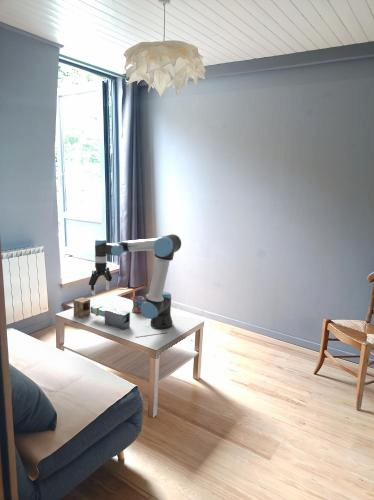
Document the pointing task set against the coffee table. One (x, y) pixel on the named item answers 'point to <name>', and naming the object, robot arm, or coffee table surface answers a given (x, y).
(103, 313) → the teal square bar
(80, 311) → the socket
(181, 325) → the coffee table surface
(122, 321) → the sleeve
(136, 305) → the mug
